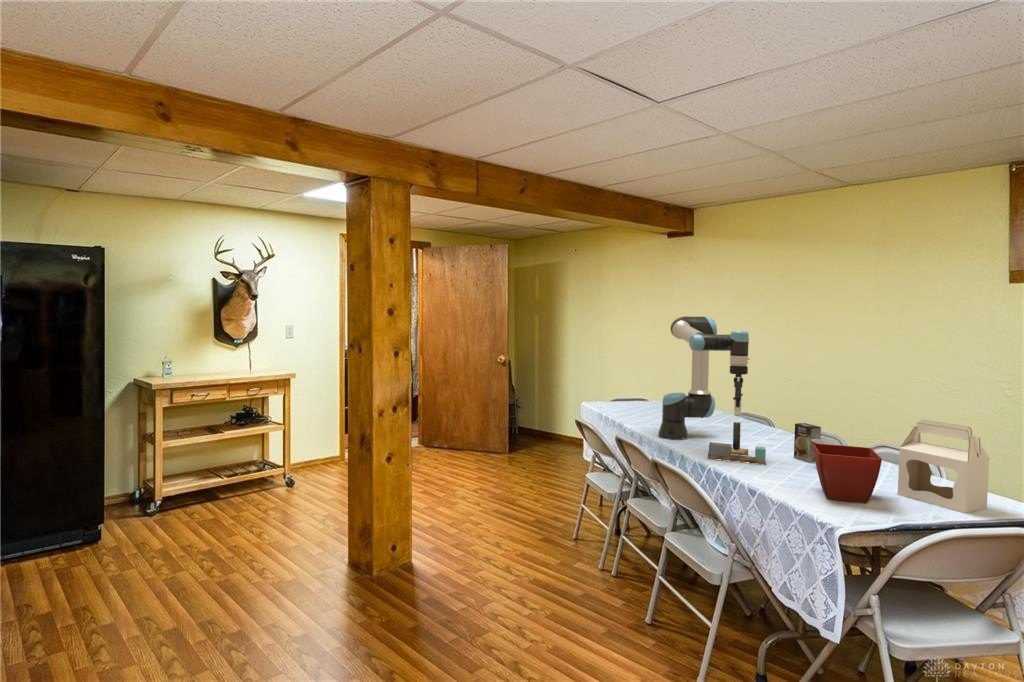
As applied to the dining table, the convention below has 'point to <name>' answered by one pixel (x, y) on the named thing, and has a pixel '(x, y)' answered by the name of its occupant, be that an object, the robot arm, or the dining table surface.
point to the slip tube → (737, 441)
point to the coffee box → (805, 441)
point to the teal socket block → (760, 453)
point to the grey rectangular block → (720, 449)
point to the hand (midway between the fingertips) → (737, 412)
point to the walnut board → (737, 458)
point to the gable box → (967, 464)
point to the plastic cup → (823, 442)
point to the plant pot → (847, 471)
